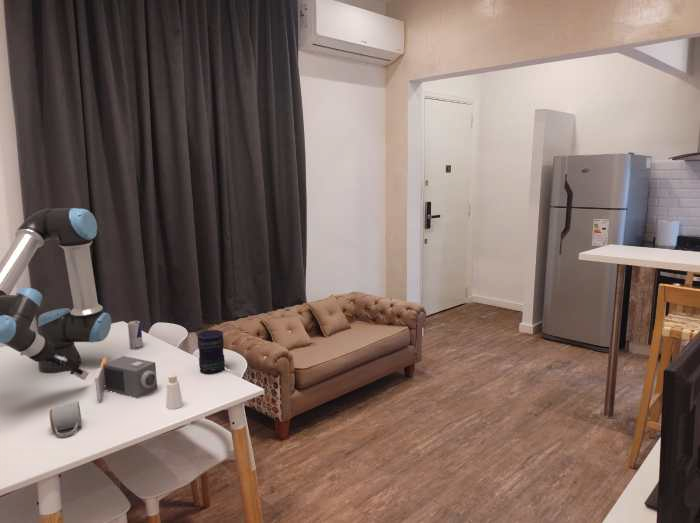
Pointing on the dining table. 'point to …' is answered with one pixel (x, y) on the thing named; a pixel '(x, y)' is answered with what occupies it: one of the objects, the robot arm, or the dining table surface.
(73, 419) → the ceramic mug
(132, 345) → the energy drink
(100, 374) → the side door
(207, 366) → the storage jar
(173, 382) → the pepper shaker
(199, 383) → the dining table surface
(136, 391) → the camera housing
